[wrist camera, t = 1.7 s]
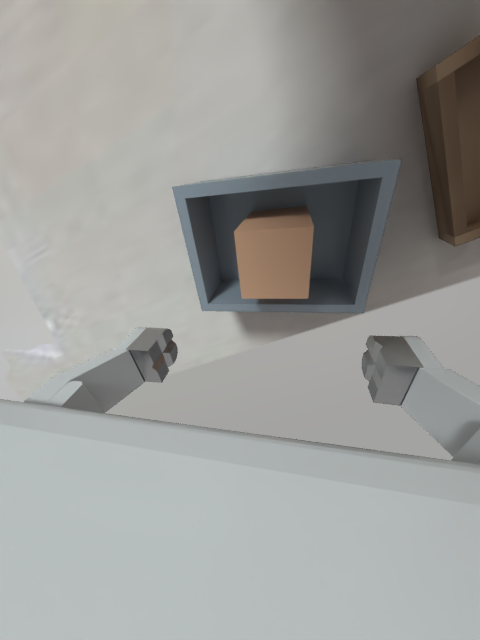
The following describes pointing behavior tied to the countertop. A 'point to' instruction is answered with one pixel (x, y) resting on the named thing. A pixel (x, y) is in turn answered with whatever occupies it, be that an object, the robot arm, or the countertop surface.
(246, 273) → the block
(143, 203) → the countertop surface
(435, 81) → the tray
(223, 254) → the blue-grey storage bin
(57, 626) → the robot arm
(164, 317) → the countertop surface
